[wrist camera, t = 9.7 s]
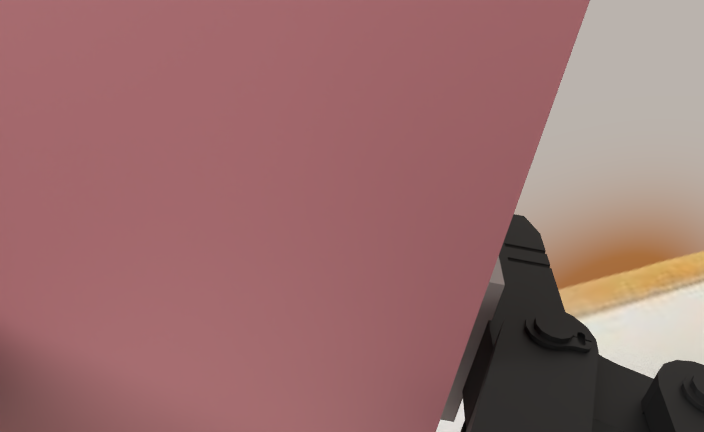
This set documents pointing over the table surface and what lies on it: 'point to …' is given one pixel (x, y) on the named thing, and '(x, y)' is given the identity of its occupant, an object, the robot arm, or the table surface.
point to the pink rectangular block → (258, 205)
